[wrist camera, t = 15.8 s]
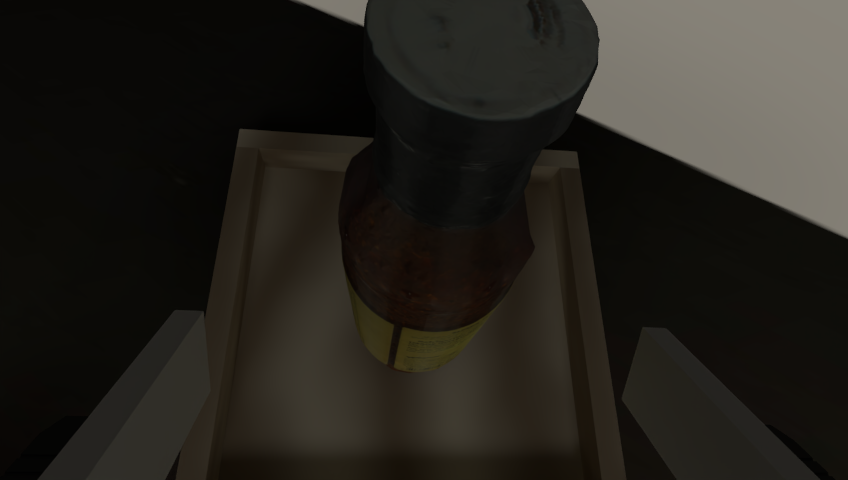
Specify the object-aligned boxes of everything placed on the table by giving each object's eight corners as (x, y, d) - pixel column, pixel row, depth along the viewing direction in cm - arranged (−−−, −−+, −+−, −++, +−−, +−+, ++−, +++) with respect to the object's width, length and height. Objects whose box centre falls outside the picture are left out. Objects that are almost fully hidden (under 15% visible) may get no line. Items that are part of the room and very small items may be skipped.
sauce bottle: (484, 293, 27) (734, -14, 9) (440, 398, 24) (665, 271, 6) (380, 245, 27) (415, -144, 9) (327, 343, 25) (230, 75, 7)
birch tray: (558, 176, 32) (576, 151, 29) (602, 519, 24) (633, 528, 21) (251, 157, 30) (239, 128, 27) (189, 527, 22) (164, 539, 19)
